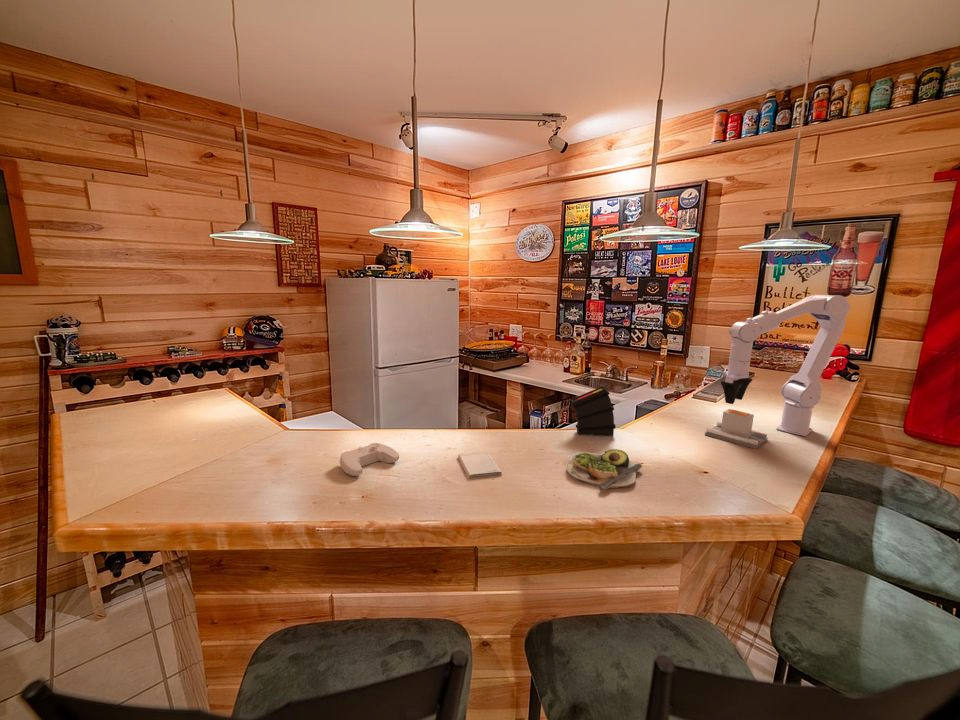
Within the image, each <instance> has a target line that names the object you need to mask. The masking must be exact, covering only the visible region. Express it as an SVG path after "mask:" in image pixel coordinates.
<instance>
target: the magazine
mask: <svg viewBox="0 0 960 720" xmlns="http://www.w3.org/2000/svg"><path fill="white" fill-rule="evenodd" d="M570 401H571V402H570V404H571V406H572V408H573V409H574V411H575V414H574V416H575V418H576V424H575V428H576V432H577V434H578V436H602V437H603V436H604V437H605V436H606V437H607V436H608V437H613V436H614V434H615V433H614V431H615V429H616V428H617V426H616V425H617V424H615V417H614V410H615V407H614V406H613V405H612V400H611V397H610V392H609V391H608V390H607V389H606V387H605V386H604V385H602V386H599V387H597V388H594V389H593V390H590V391H587V392H585V393H583V394H581V395H578V396H576V397H573V398H571V399H570Z"/></svg>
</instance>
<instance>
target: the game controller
mask: <svg viewBox="0 0 960 720" xmlns="http://www.w3.org/2000/svg"><path fill="white" fill-rule="evenodd" d="M399 459H400V453H399V452H398V451H397V450H396V449H394V448H393V447H391V446H388V445H386V444H383V443H380V442H379V443H378V442H374V443H372V442H371V443H369V444H368V445H365V446H359V447H358V448H356V449H353V450H352V449H351V450H349V451H348V450H347V451H344V452H342V453H341V455H340V458H339V464H340V468H341V470H342V471H343V472H344V473H345V474H347V475H349V476H351V477H357V476H360V475H362V474H363V472H364V470H363V467H364V466H365V467H366V466H367V465H370V464H374V463H376V462H384V463H389V464H392V463H396V462H398V461H399Z"/></svg>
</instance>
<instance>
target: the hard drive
mask: <svg viewBox="0 0 960 720" xmlns="http://www.w3.org/2000/svg"><path fill="white" fill-rule="evenodd" d="M457 456H458V457H457V458H458V460H459V462H460V464H461V466H462V469H464V472H465V474H466V476H467V478H468V479H469V480H470V479H471V480H473V479H481V478H482V479H483V478H491V477H501V476H502V475H503V474H502V471H501V469H500V468H499V466H498V465H497V463H496V462H495V461H494V459H493V458H492V456H491V455H490V453H489V452H488V451H479V452H469V453H467V452H466V453H465V452H464V453H460V454H458V455H457Z"/></svg>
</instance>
